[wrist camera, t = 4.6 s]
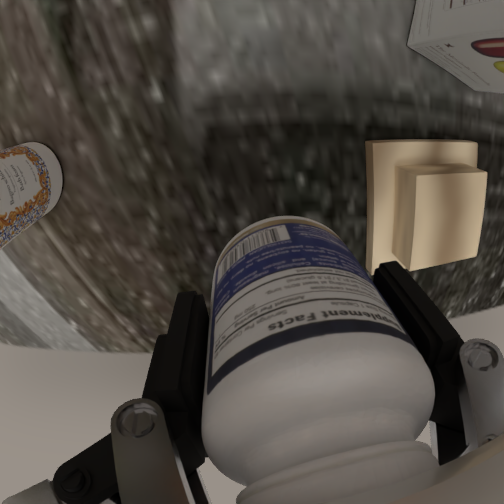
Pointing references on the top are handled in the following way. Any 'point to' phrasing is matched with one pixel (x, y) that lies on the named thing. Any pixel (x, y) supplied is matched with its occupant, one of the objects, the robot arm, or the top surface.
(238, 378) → the pill bottle
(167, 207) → the top surface
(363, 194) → the top surface
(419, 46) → the supplement box
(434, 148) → the plinth
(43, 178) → the bath foam
